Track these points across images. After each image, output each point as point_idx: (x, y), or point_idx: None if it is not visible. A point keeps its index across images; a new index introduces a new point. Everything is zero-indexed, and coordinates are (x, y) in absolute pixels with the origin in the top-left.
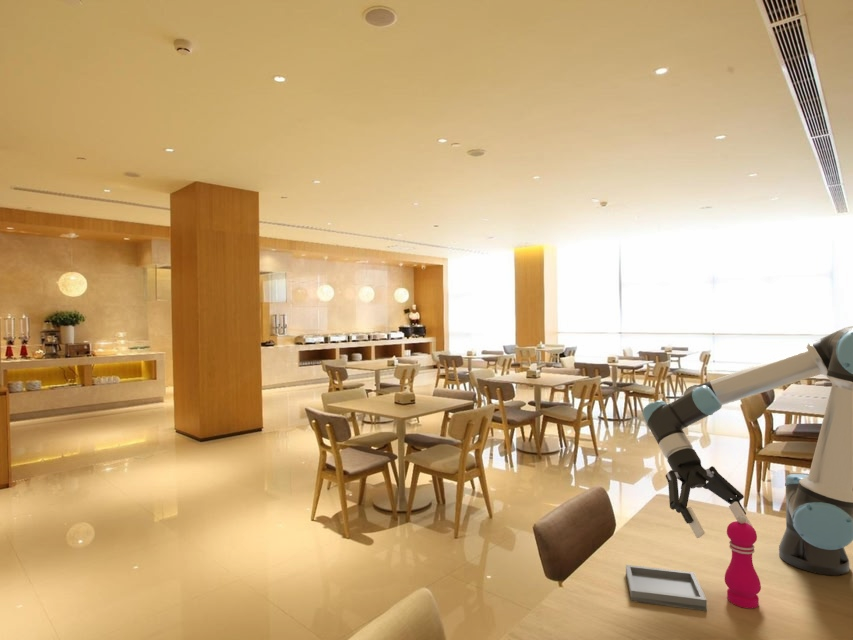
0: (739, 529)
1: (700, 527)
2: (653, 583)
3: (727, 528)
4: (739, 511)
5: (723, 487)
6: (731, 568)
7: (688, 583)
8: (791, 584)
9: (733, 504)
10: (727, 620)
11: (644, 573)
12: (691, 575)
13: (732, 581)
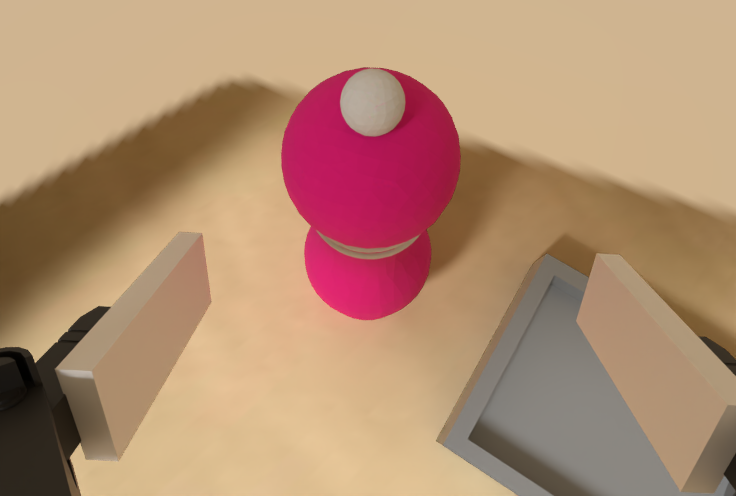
0: (433, 98)
1: (629, 277)
2: (635, 461)
3: (443, 199)
4: (148, 314)
5: None
6: (416, 249)
7: (491, 413)
8: (91, 306)
9: (109, 391)
10: (505, 206)
11: None
12: (473, 424)
13: (429, 241)
